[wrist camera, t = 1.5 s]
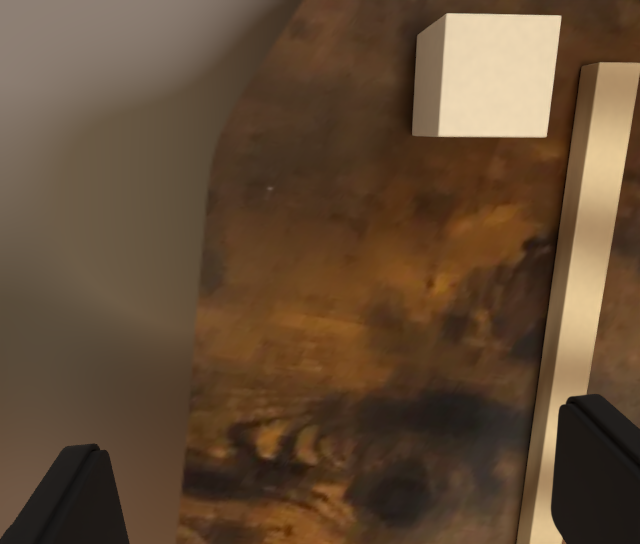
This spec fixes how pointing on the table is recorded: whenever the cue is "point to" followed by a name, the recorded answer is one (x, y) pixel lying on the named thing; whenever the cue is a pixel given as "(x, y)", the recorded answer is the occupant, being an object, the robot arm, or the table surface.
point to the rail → (578, 273)
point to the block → (485, 75)
